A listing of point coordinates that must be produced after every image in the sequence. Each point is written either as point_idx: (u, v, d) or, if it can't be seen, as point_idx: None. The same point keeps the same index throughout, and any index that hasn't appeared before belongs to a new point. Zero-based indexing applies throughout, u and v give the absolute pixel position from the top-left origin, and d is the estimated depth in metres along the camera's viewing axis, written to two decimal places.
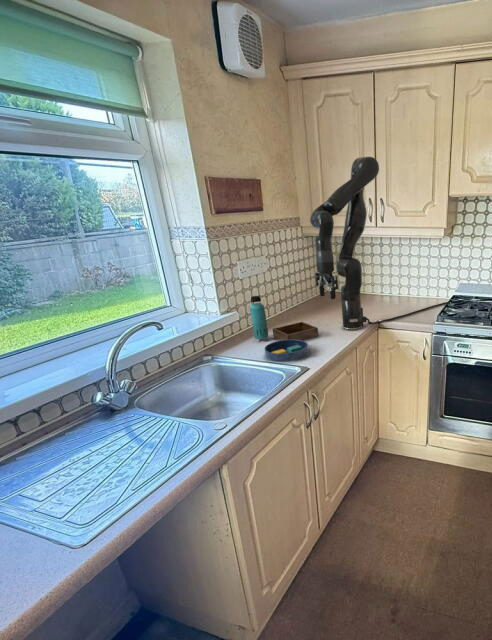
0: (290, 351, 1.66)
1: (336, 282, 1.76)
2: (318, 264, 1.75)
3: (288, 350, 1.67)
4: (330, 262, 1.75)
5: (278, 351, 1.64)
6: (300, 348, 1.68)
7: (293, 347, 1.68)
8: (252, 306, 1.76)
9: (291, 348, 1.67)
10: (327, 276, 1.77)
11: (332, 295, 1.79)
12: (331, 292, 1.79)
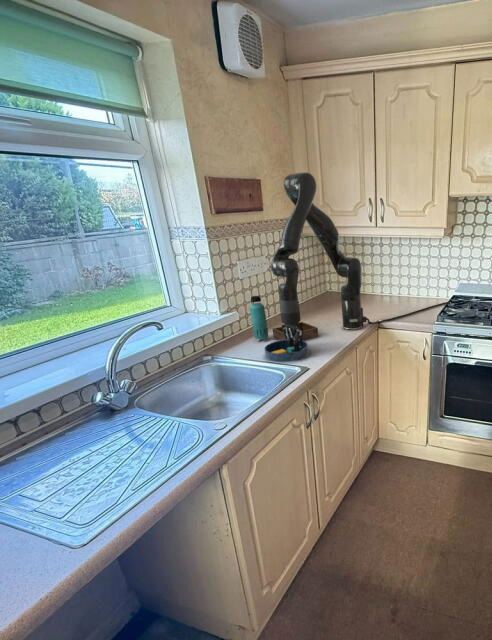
0: (290, 351, 1.66)
1: (301, 337, 1.62)
2: (282, 315, 1.59)
3: (288, 350, 1.67)
4: (295, 313, 1.59)
5: (278, 351, 1.64)
6: (300, 348, 1.68)
7: (293, 347, 1.68)
8: (252, 306, 1.76)
9: (291, 348, 1.67)
10: (292, 327, 1.61)
11: (296, 348, 1.65)
12: (295, 345, 1.65)
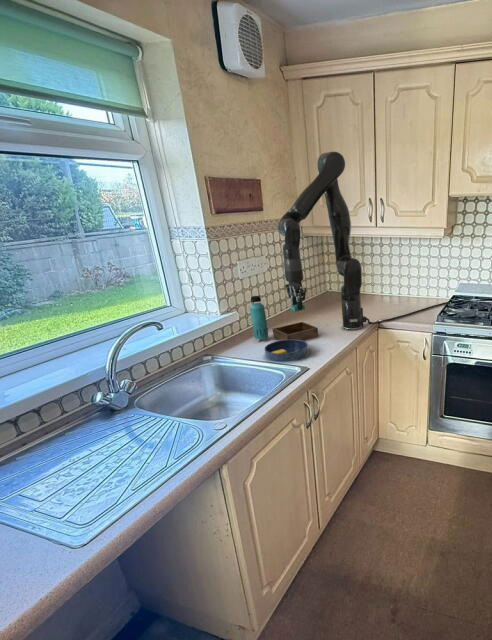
0: (293, 308, 1.77)
1: (304, 294, 1.73)
2: (286, 273, 1.70)
3: (292, 308, 1.78)
4: (298, 271, 1.70)
5: (278, 351, 1.64)
6: (303, 306, 1.79)
7: (296, 305, 1.79)
8: (252, 306, 1.76)
9: (294, 306, 1.78)
10: (296, 285, 1.72)
11: (299, 306, 1.77)
12: (298, 303, 1.76)
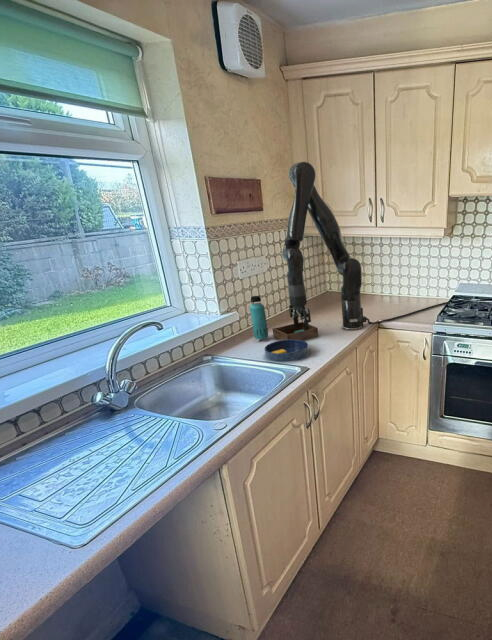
0: None
1: (308, 315, 1.79)
2: (290, 298, 1.78)
3: None
4: (302, 296, 1.78)
5: (278, 351, 1.64)
6: None
7: None
8: (252, 306, 1.76)
9: None
10: (300, 309, 1.80)
11: (305, 328, 1.82)
12: (304, 325, 1.82)
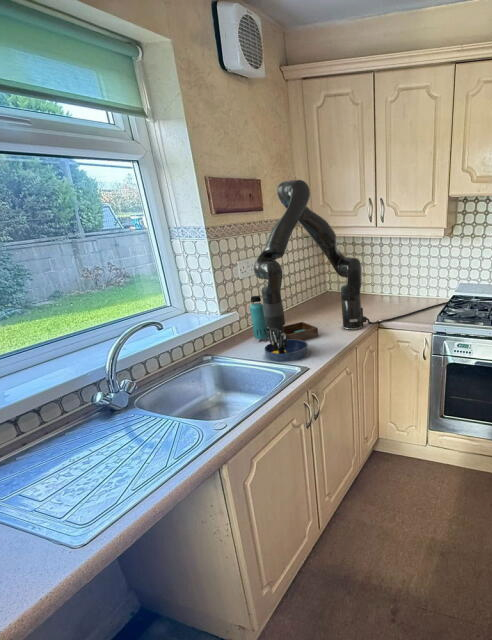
0: None
1: (285, 341, 1.58)
2: (266, 318, 1.55)
3: None
4: (279, 316, 1.55)
5: None
6: None
7: None
8: (252, 306, 1.76)
9: None
10: (277, 331, 1.57)
11: None
12: (279, 350, 1.61)
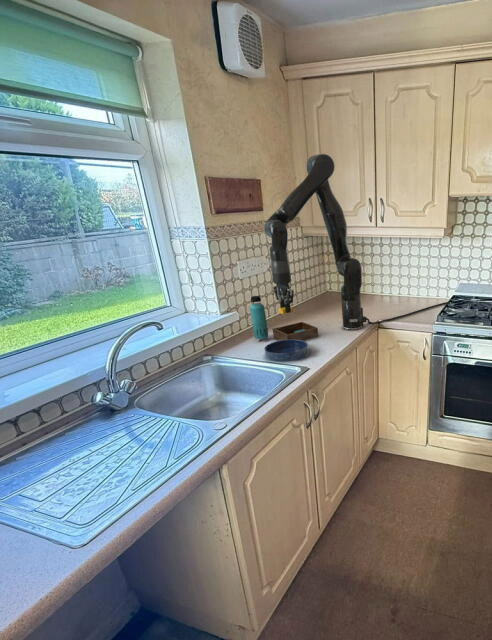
0: None
1: (291, 297, 1.70)
2: (273, 275, 1.67)
3: None
4: (286, 273, 1.67)
5: (284, 307, 1.76)
6: None
7: None
8: (252, 306, 1.76)
9: None
10: (283, 287, 1.70)
11: (287, 309, 1.74)
12: (286, 305, 1.73)
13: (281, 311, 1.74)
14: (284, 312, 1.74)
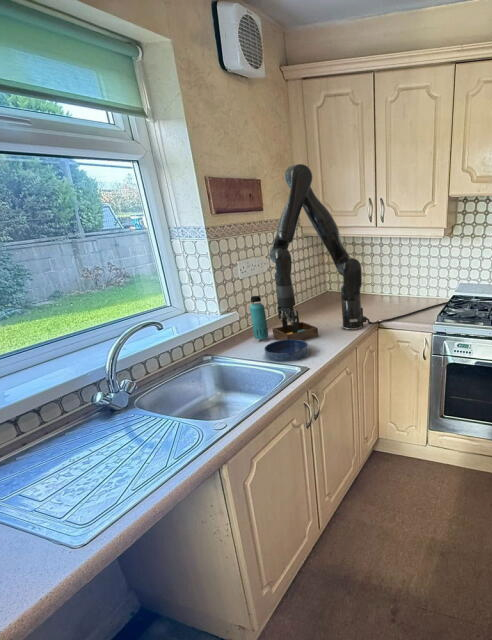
0: None
1: (297, 317, 1.76)
2: (278, 299, 1.75)
3: None
4: (290, 297, 1.74)
5: (288, 333, 1.84)
6: None
7: None
8: (252, 306, 1.76)
9: None
10: (288, 311, 1.77)
11: (294, 329, 1.79)
12: (292, 327, 1.78)
13: None
14: None
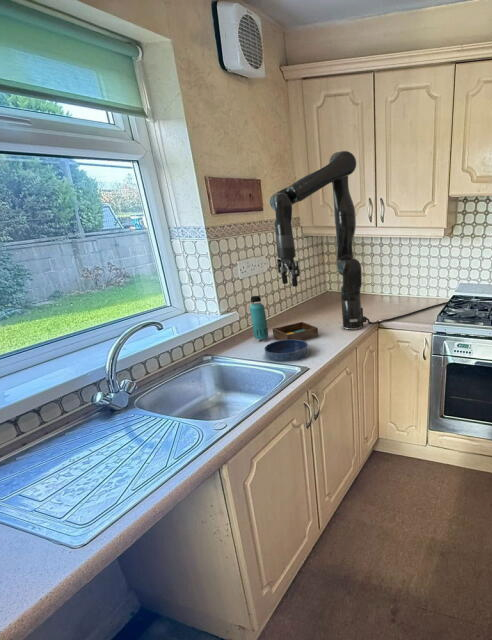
0: None
1: (297, 268, 1.69)
2: (278, 249, 1.68)
3: None
4: (291, 247, 1.67)
5: (288, 333, 1.84)
6: None
7: None
8: (252, 306, 1.76)
9: None
10: (288, 262, 1.70)
11: (294, 282, 1.72)
12: (292, 279, 1.71)
13: None
14: None
